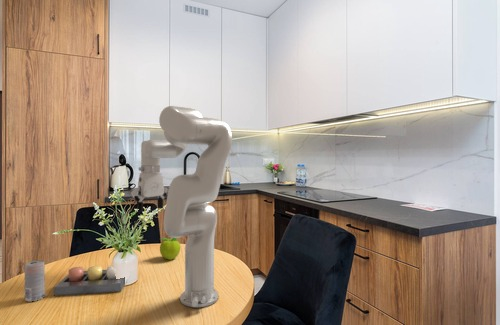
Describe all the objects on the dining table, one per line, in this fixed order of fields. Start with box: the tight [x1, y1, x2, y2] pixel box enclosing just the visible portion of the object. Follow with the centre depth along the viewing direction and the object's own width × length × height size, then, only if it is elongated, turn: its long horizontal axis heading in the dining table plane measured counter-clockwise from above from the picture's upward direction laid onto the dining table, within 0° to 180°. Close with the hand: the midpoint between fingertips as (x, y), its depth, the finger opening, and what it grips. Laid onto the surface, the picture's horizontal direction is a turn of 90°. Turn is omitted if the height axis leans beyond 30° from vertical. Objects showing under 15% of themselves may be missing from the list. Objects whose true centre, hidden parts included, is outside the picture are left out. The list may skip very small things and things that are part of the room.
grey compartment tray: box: [53, 269, 126, 296], centre depth 108 cm, size 14×21×3 cm, turn 99°
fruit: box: [159, 236, 181, 261], centre depth 137 cm, size 9×9×10 cm
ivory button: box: [106, 265, 116, 280], centre depth 109 cm, size 5×5×4 cm
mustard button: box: [87, 265, 103, 281], centre depth 108 cm, size 5×5×4 cm
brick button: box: [68, 266, 84, 282], centre depth 107 cm, size 5×5×4 cm
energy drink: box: [24, 259, 46, 303], centre depth 98 cm, size 5×5×12 cm
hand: (150, 209), depth 126 cm, fingers open, 9 cm apart
